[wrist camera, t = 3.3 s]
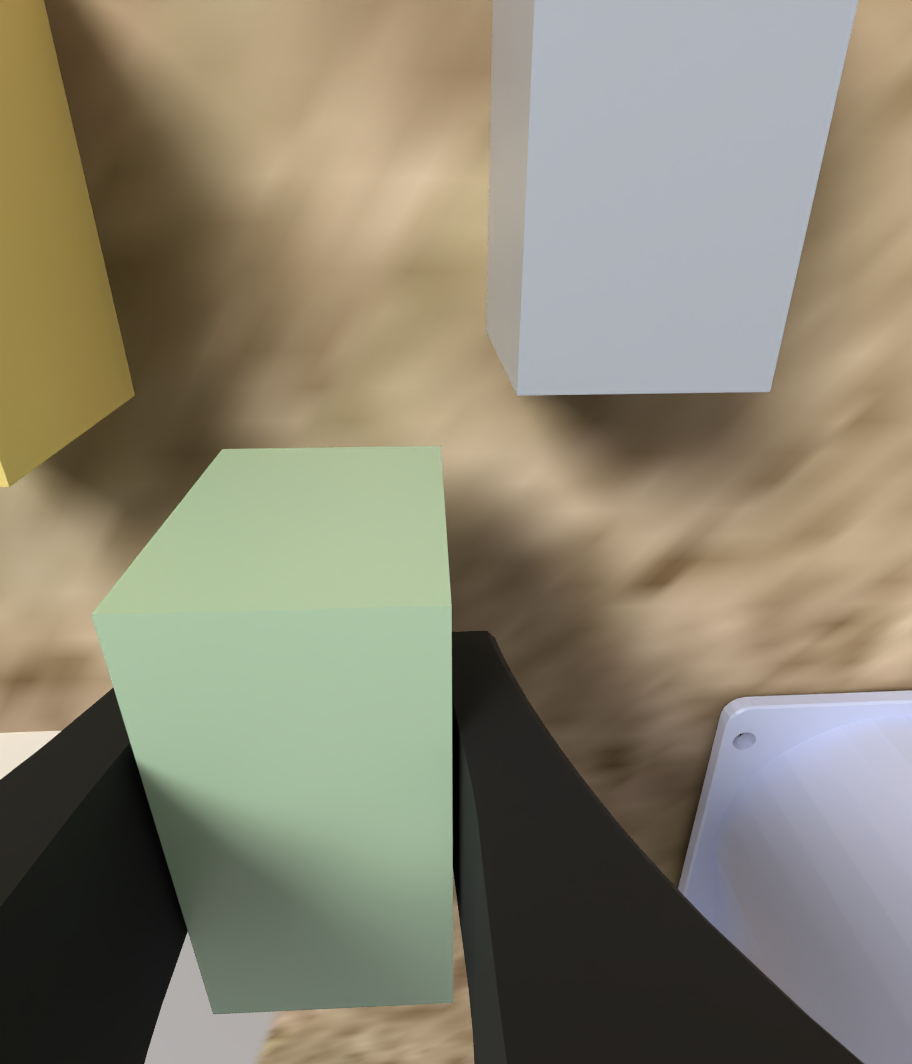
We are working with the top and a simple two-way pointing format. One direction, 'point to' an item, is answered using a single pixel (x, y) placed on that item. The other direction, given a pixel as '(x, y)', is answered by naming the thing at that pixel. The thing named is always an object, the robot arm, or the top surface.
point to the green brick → (299, 723)
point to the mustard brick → (48, 262)
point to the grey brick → (653, 187)
